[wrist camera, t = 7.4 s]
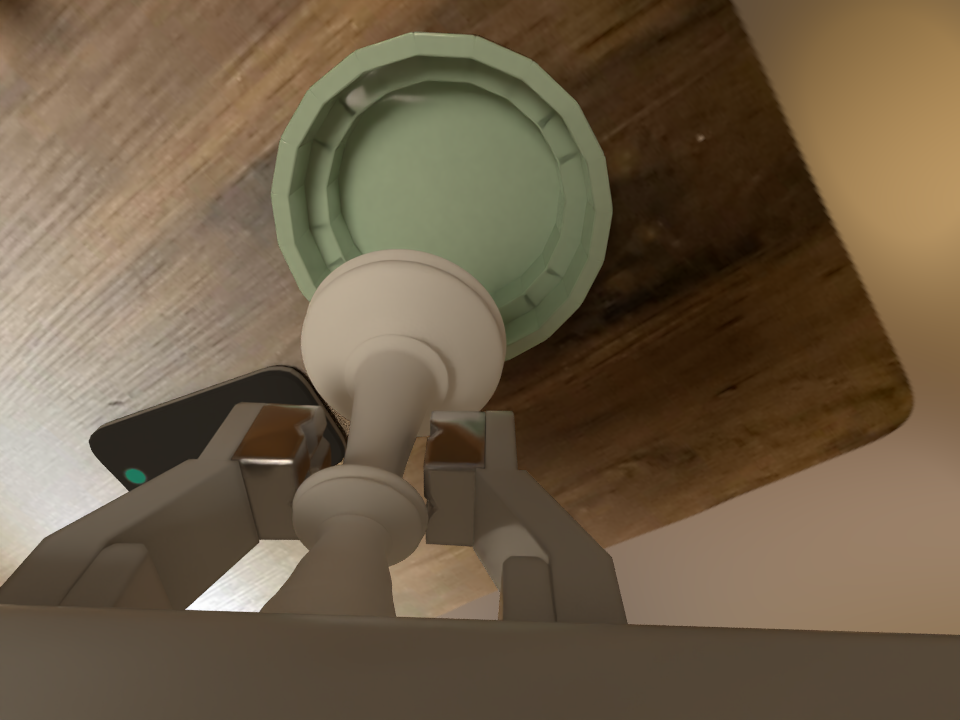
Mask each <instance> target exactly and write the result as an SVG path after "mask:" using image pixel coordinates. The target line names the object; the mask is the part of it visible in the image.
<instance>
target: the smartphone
mask: <svg viewBox="0 0 960 720" xmlns="http://www.w3.org/2000/svg"><path fill="white" fill-rule="evenodd" d="M241 402H249V403H266V404H268V403H274V404H292V405H311V406H321V407H322V408H323V409H324V410H325V416H326V421H327V426H326V428H325V431H324V433H323V437H324V438H325V439H326V440H327V441H328V442H329V443H330V449H331V467H332V466H335V465H337V464H338V463H339V462H341V461H342V459H343V458H344V456H345V453H346V448H347V444H346V441H345V439H344V437H343V435H342V433H341V431H340V430H339V428H338V427H337V425H336V424H335V422H334V420H333V419H332V417H331V416H330V414H329V413H328V411H327V410H326V408H325V407H324V405H323V404H322V402H321V401H320V399H319V398H318V396H317V394H316V393H315V391H314V390H313V388H312V387H311V385H310V384H309V383H308V381H307V380H306V379H305V378H304V377H303V376H302V375H301V374H300V373H299V372H297V371H296V370H294V369H293V368H289V367H284V366H272V367H267V368H263V369H260V370H257V371H254V372H252V373H249V374H246V375H243V376H240V377H237V378H234V379H232V380H229V381H226V382H223V383H220V384H217V385H214V386H211V387H209V388H206V389H203V390H200V391H197V392H194V393H191V394H188V395H186V396H183V397H180V398H177V399H174V400H171V401H168V402H165V403H163V404H160V405H157V406H154V407H151V408H148V409H145V410H143V411H140V412H137V413H134V414H131V415H128V416H125V417H122V418H120V419H117V420H114V421H111V422H108V423H106V424H104V425H102V426H100V427H99V428H98V429H97V430H96V431H95V432H94V433H93V434H92V435H91V437H90V439H89V444H90V447H91V450H92V452H93V453H94V455H95V456H96V457H97V458H98V460H99V461H100V462H101V463H102V464H103V465H104V466H105V467H106V468H107V469H108V470H109V471H110V472H111V473H112V474H113V475H114V476H115V477H116V478H117V479H118V480H119V481H120V482H121V483H122V484H123V485H124V487H125V488H126V489H127V490H128V491H129V492H130V491H131V490H133V489H135V488H137V487H139V486H141V485H142V484H144V483H146V482H148V481H150V480H152V479H153V478H155V477H157V476H159V475H161V474H163V473H164V472H166V471H168V470H170V469H172V468H174V467H175V466H177V465H179V464H181V463H183V462H185V461H186V460H188V459H198V458H199V456H200V455H201V453H202V452H203V451H204V449H205V448H206V446H207V445H208V443H209V442H210V441H211V439H212V438H213V436H214V435H215V433H216V432H217V430H218V429H219V428H220V426H221V425H222V423H223V422H224V420H225V419H226V417H227V416H228V415H229V413H230V412H231V410H232V409H233V407H234V406H235V405H236V404H239V403H241Z"/></svg>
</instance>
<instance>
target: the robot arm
mask: <svg viewBox="0 0 960 720" xmlns="http://www.w3.org/2000/svg"><path fill="white" fill-rule="evenodd" d="M326 426H327V421H326V416H325V410H324V409H323V408H322V407H321V406H311V405H292V404H274V403H268V404H266V403H249V402H241V403H239V404H236V405H235V406H234V407H233V409H232V410H231V412H230V413H229V415H228V416H227V417H226V419H225V420H224V422H223V423H222V425H221V426H220V428H219V429H218V430H217V432H216V433H215V435H214V436H213V438H212V439H211V441H210V442H209V443H208V445H207V446H206V448H205V449H204V451H203V452H202V453H201V455H200V456H199V458H198V459H188V460H186V461H185V462H183V463H181V464H179V465H177V466H175V467H174V468H172V469H170V470H168V471H166V472H164V473H163V474H161V475H159V476H157V477H155V478H153V479H152V480H150V481H148V482H146V483H144V484H142V485H141V486H139V487H137V488H135V489H133V490H131V491H130V492H128V493H126V494H124V495H122V496H120V497H119V498H117V499H115V500H113V501H111V502H109V503H108V504H106V505H104V506H102V507H100V508H98V509H97V510H95V511H93V512H91V513H89V514H87V515H86V516H84V517H82V518H80V519H78V520H76V521H75V522H73V523H71V524H69V525H67V526H65V527H64V528H62V529H60V530H58V531H56V532H54V533H53V534H51V535H49V536H47V537H45V538H44V539H43V540H42V541H41V542H40V543H39V545H38V546H37V547H36V548H35V549H34V550H33V551H32V552H31V554H30V555H29V556H28V557H27V558H26V559H25V560H24V561H23V563H22V564H21V565H20V566H19V567H18V568H17V569H16V570H15V572H14V573H13V574H12V575H11V576H10V577H9V578H8V579H7V581H6V582H5V583H4V584H3V585H2V586H1V587H0V720H960V635H945V634H913V633H912V634H911V633H879V632H851V631H819V630H789V629H759V628H728V627H696V626H666V625H634V624H628V623H627V619H626V615H625V611H624V606H623V602H622V598H621V594H620V590H619V585H618V581H617V577H616V572H615V568H614V564H613V560H612V557H611V556H610V555H609V554H608V553H607V552H606V551H605V550H604V549H603V548H602V547H601V546H600V545H599V544H598V543H597V542H596V541H595V540H594V539H593V538H592V537H591V536H590V535H589V534H588V533H587V532H586V531H585V530H584V529H583V528H582V527H581V526H580V525H579V524H578V523H577V522H576V521H575V520H574V519H573V518H572V517H571V515H570V514H569V513H568V512H567V511H566V510H565V509H564V508H563V507H562V506H561V505H560V504H559V503H558V502H557V501H556V500H555V499H554V498H553V497H552V496H551V495H550V494H549V493H548V492H547V491H546V490H545V489H544V488H543V487H542V486H541V485H540V484H539V483H538V482H537V481H536V480H535V479H534V478H533V477H532V476H531V475H530V474H529V473H528V472H527V471H526V470H518V466H517V451H516V436H515V422H514V413H513V412H512V411H486V414H485V412H478V411H441V410H433V411H432V413H431V419H430V437H429V438H428V439H427V446H426V453H425V459H424V497H425V498H426V499H427V504H426V508H427V512H428V525H427V529H426V544H439V545H456V546H473V549H474V551H475V552H476V554H477V556H478V557H479V559H480V561H481V562H482V564H483V566H484V567H485V569H486V570H487V572H488V574H489V575H490V577H491V579H492V580H493V582H494V584H495V585H496V587H497V588H498V590H499V592H500V600H499V612H498V620H478V619H448V618H418V617H388V616H357V615H326V614H295V613H263V612H232V611H201V610H185V609H186V608H187V607H188V606H190V605H191V604H192V603H193V602H194V601H195V600H196V599H197V598H198V597H200V596H201V595H202V594H203V593H204V592H205V591H206V590H207V589H208V588H209V587H211V586H212V585H213V584H214V583H215V582H216V581H217V580H218V579H219V578H220V577H222V576H223V575H224V574H225V573H226V572H227V571H228V570H229V569H230V568H232V567H233V566H234V565H235V564H236V563H237V562H238V561H239V560H240V559H241V558H243V557H244V556H245V555H246V554H247V553H248V552H249V551H250V550H251V549H252V548H254V547H255V546H256V545H257V544H258V543H259V540H299V538H298V536H297V535H296V532H295V530H294V527H293V521H292V515H293V510H292V506H293V499H294V496H295V493H296V491H297V489H298V488H299V486H300V485H301V484H302V483H303V482H304V481H305V480H306V479H307V478H308V477H309V476H311V475H312V474H314V473H316V472H318V471H320V470H322V469H325V468H328V467H331V449H330V443H329V442H328V441H327V440H326V439H325V438H324V437H323V433H324V431H325V428H326Z"/></svg>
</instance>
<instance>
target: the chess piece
mask: <svg viewBox="0 0 960 720" xmlns="http://www.w3.org/2000/svg"><path fill="white" fill-rule="evenodd" d="M301 351H302V358H303V362H304V366H305V369H306V371H307V374H308V376H309V378H310V380H311V382H312V384H313V385H314V387H315V389H316V390H317V392H318V393H319V394H320V395H321V397H322V398H323V399H324V400H325V401H326V402H327V403H328V404H329V405H330V406H331V407H332V408H333V409H334V410H335V411H336V412H338V413H339V414H340V415H342V416H343V417H345V418H346V419H348V420H349V421H351V423H350V429H349V435H348V441H347V448H346V453H345V457H344V462H343V465H336V466H332V467H328V468H325V469H322V470H320V471H318V472H316V473H314V474H312V475H311V476H309V477H308V478H307V479H306V480H305V481H304V482H303V483H302V484H301V485H300V486H299V488H298V489H297V491H296V493H295V496H294V499H293V506H292V510H293V515H292V521H293V527H294V530H295V532H296V535H297V536H298V538H299V540H300V541H301V542H302V543H303V545H304V546H305V547H306V548H307V549H308V550H310V551H309V552H308V553H307V554H306V555H305V556H304V557H303V559H302V560H301V561H300V562H299V564H298V565H297V566H296V568H295V570H294V571H293V573H292V574H291V576H290V577H289V579H288V580H287V581H286V582H285V584H284V585H283V586H282V587H281V588H280V590H279V591H278V592H277V593H276V594H275V595H274V596H273V597H272V598H271V599H270V600H269V601H268V602H267V603H266V604H265V605H264V606H263V608H262V609H261V610H260V612H263V613H295V614H326V615H357V616H388V617H396V614H395V608H394V603H393V596H392V582H391V576H390V572H389V568H388V567H389V566H392V565H395V564H397V563H399V562H401V561H403V560H405V559H406V558H407V557H409V556H410V555H411V554H412V553H413V552H414V551H415V550H416V548H417V547H418V545H419V543H420V541H421V539H422V538H423V536H424V534H425V532H426V529H427V525H428V512H427V508H426V505H425V503H424V501H423V499H422V497H421V496H420V494H419V493H418V492H417V491H416V489H415V488H414V487H413V486H412V485H410V484H409V483H408V482H407V481H405V480H404V479H403V478H402V477H403V474H404V470H405V467H406V464H407V461H408V459H409V456H410V453H411V451H412V448H413V445H414V442H415V440H416V437H423V436H430V419H431V413H432V411H433V410H441V411H478V412H479V411H480V410H481V409H482V408H483V407H484V406H485V405H486V404H487V402H488V401H489V400H490V398H491V397H492V395H493V394H494V392H495V390H496V388H497V386H498V383H499V381H500V378H501V374H502V370H503V365H504V361H505V356H506V332H505V327H504V323H503V319H502V317H501V314H500V312H499V309H498V307H497V305H496V304H495V302H494V300H493V299H492V297H491V296H490V294H489V293H488V292H487V290H486V289H485V288H484V287H483V286H482V285H481V284H480V283H479V281H478V280H476V279H475V278H474V277H473V276H472V275H471V274H469V273H468V272H467V271H465V270H464V269H462V268H461V267H459V266H458V265H456V264H454V263H452V262H450V261H448V260H446V259H444V258H442V257H439V256H436V255H433V254H430V253H426V252H422V251H416V250H408V249H387V250H379V251H374V252H370V253H366V254H363V255H360V256H358V257H355V258H353V259H351V260H349V261H347V262H345V263H344V264H342V265H341V266H339V267H338V268H336V269H335V270H334V271H333V272H331V273H330V274H329V275H328V276H327V277H326V278H325V279H324V280H323V282H322V283H321V284H320V285H319V287H318V288H317V290H316V291H315V293H314V295H313V297H312V299H311V301H310V303H309V306H308V309H307V313H306V317H305V319H304V323H303V327H302V333H301Z"/></svg>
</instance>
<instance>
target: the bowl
mask: <svg viewBox="0 0 960 720" xmlns="http://www.w3.org/2000/svg"><path fill="white" fill-rule="evenodd" d="M271 201H272V207H273V214H274V220H275V227H276V233H277V240H278V245H279V248H280V250H281V252H282V254H283V256H284V258H285V260H286V262H287V264H288V266H289V268H290V270H291V272H292V275H293V277H294V279H295V281H296V283H297V285H298V287H299V289H300V291H301V293H302V294H303V295H304V296H305V297H306V298H307V300H308V301H309V302H310V301H311V299H312V297H313V295H314V293H315V291H316V290H317V288H318V287H319V285H320V284H321V283H322V282H323V280H324V279H325V278H326V277H327V276H328V275H329V274H330V273H331V272H333V271H334V270H335V269H336V268H338V267H339V266H341V265H342V264H344V263H345V262H347V261H349V260H351V259H353V258H355V257H358V256H360V255H363V254H366V253H370V252H374V251H379V250H387V249H408V250H416V251H422V252H426V253H430V254H433V255H436V256H439V257H442V258H444V259H446V260H448V261H450V262H452V263H454V264H456V265H458V266H459V267H461V268H462V269H464V270H465V271H467V272H468V273H469V274H471V275H472V276H473V277H474V278H475V279H476V280H478V281H479V283H480V284H481V285H482V286H483V287H484V288H485V289H486V290H487V292H488V293H489V294H490V296H491V297H492V299H493V300H494V302H495V304H496V305H497V307H498V309H499V312H500V314H501V317H502V319H503V323H504V327H505V332H506V356H505V361H507V360H510V359H512V358H514V357H516V356H517V355H519V354H521V353H523V352H525V351H527V350H529V349H530V348H532V347H534V346H536V345H538V344H540V343H541V342H543V341H545V340H547V339H548V338H549V337H550V336H551V335H552V334H553V333H554V332H555V331H556V330H557V329H558V328H559V327H560V326H561V325H562V324H563V323H564V322H565V321H566V320H567V319H568V318H569V317H570V316H571V315H572V314H573V313H574V312H575V311H576V310H577V309H578V308H579V307H580V305H581V304H582V303H583V301H584V299H585V297H586V295H587V293H588V292H589V290H590V288H591V286H592V284H593V282H594V280H595V278H596V276H597V274H598V272H599V271H600V269H601V267H602V265H603V261H604V260H605V255H606V249H607V243H608V237H609V232H610V226H611V220H612V214H613V211H612V210H613V205H612V198H611V192H610V185H609V178H608V171H607V165H606V158H605V156H604V152H603V150H602V148H601V146H600V144H599V143H598V141H597V139H596V137H595V135H594V133H593V131H592V129H591V127H590V125H589V123H588V121H587V119H586V117H585V115H584V113H583V111H582V109H581V107H580V105H579V104H577V101H576V100H575V99H574V98H573V97H572V96H570V95H569V94H568V93H567V92H566V91H565V90H564V89H563V88H562V87H561V86H560V85H559V84H558V83H557V82H556V81H555V80H554V79H553V78H552V77H551V76H549V75H548V74H547V73H546V72H545V71H544V70H543V69H542V68H541V67H540V66H539V65H538V64H537V63H536V62H535V61H533V60H532V59H530V58H528V57H527V56H525V55H523V54H521V53H519V52H516V51H514V50H512V49H510V48H507V47H505V46H503V45H500V44H498V43H496V42H494V41H491V40H489V39H487V38H485V37H482V36H480V35H478V36H477V35H476V34H457V33H439V32H410V33H407V34H404V35H400V36H397V37H394V38H391V39H388V40H385V41H382V42H379V43H376V44H373V45H370V46H367V47H364V48H361V49H358V50H355V52H352V53H351V54H350V55H348V56H347V57H346V58H345V59H344V60H342V61H341V62H340V63H339V64H337V65H336V66H335V67H334V68H333V69H331V70H330V71H329V72H328V73H327V74H325V75H324V76H323V77H322V78H321V79H319V80H318V81H317V82H316V83H314V84H313V85H312V86H311V87H310V88H309V90H307V92H306V93H305V95H304V97H303V99H302V100H301V102H300V104H299V106H298V108H297V109H296V111H295V113H294V115H293V116H292V118H291V120H290V122H289V123H288V125H287V127H286V129H285V130H284V132H283V134H282V136H281V139H280V141H279V147H278V153H277V159H276V164H275V170H274V176H273V182H272V188H271Z"/></svg>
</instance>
